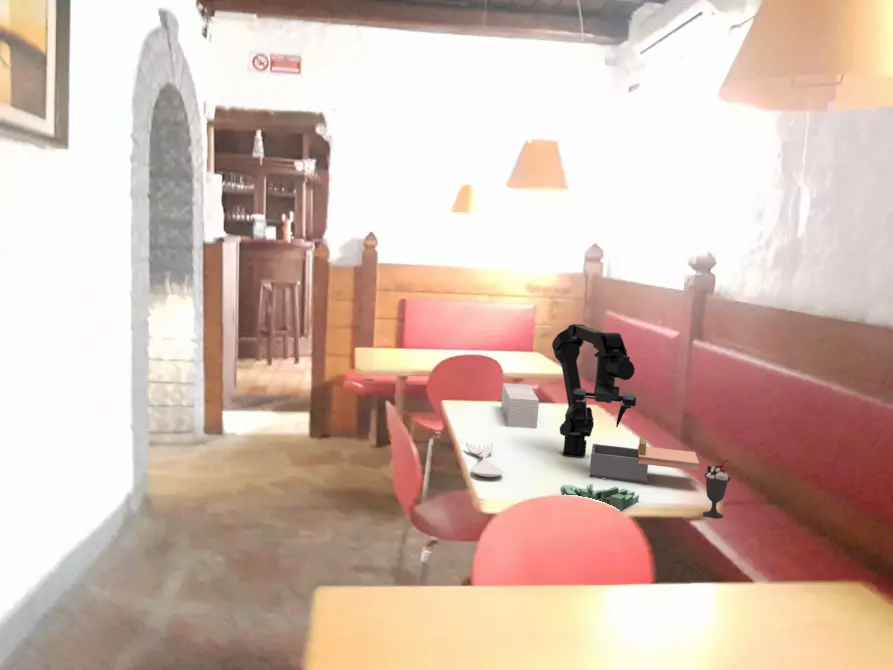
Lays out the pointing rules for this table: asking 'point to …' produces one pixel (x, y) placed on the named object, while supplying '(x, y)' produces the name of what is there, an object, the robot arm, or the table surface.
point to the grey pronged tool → (484, 462)
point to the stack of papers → (519, 405)
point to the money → (604, 495)
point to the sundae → (715, 487)
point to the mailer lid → (666, 457)
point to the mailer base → (617, 464)
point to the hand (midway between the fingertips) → (601, 425)
